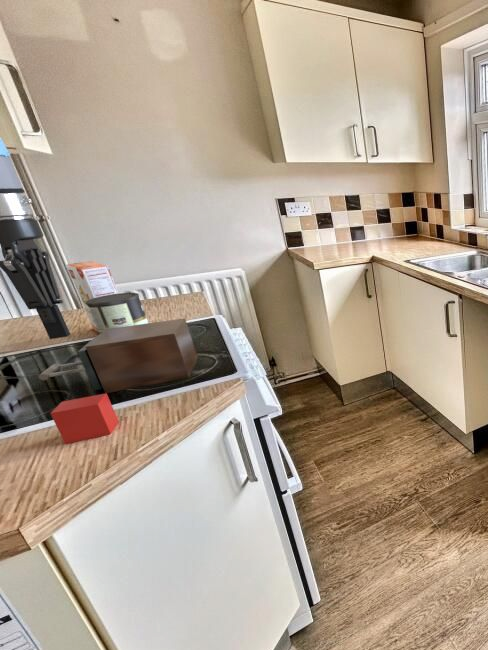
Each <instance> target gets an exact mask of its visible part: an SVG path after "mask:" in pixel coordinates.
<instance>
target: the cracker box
mask: <svg viewBox="0 0 488 650" xmlns="http://www.w3.org/2000/svg"><path fill="white" fill-rule="evenodd" d="M65 266H66V268H67V270H68V273H69V275H70V277H71V279H72V282H73V284H74V287H75V290H76V291H77V294H78V297H79V298H80V301H81V303H82V305H83V307H84V310H85V312H86V315H87V317H88V320H89V322H90V324H91V326H92V328H93V329H92V330H94V331H95V332H97V333H98V335H100V334H99V331H98V329H97V326H96V324H95V322H94V319H93V317H92V315H91V312H90V310H89V307H88V305H87V304H86V301H88V300H90V299H93V298H97V297H101V296H106V295H112V294H119V291H118V288H117V287H116V283H115V281H114V278H113V276H112V273H111V271H110V269H109V266H108V265H106V264H102V263H99V262H95V261H91V260H90V261H89V260H88V261H82V262H81V261H80V262H73V263H68V264H66V265H65Z"/></svg>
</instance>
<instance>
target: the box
mask: <svg viewBox="0 0 488 650" xmlns="http://www.w3.org/2000/svg"><path fill="white" fill-rule="evenodd" d="M108 395H109V394H108V393H105V392H104V393H101V394H100V393H99V394H95V395H91V396H85V397H80V398H74V399H68V400H63V401H61V402H60V403H59V404H58V405H56V407H55V408H54V409H53V410H52V411H51V412H50V416H51V418H52V420H53V422H54V424H55V426H56V428H57V430H58V432H59V434H60V436H61V438H62V441H63V442H64V445H68V444H72V443H76V442H81V441H85V440H91V439H95V438H100V437H104V436H108V435H111V434H112V433H113V431H114V430H115V428H116V427H117V426H118V425H119V423H120V421H119V419H118V416H117V414H116V412H115V410H114V407H113V405H112V403H111V400H110V398H109V396H108Z"/></svg>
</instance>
